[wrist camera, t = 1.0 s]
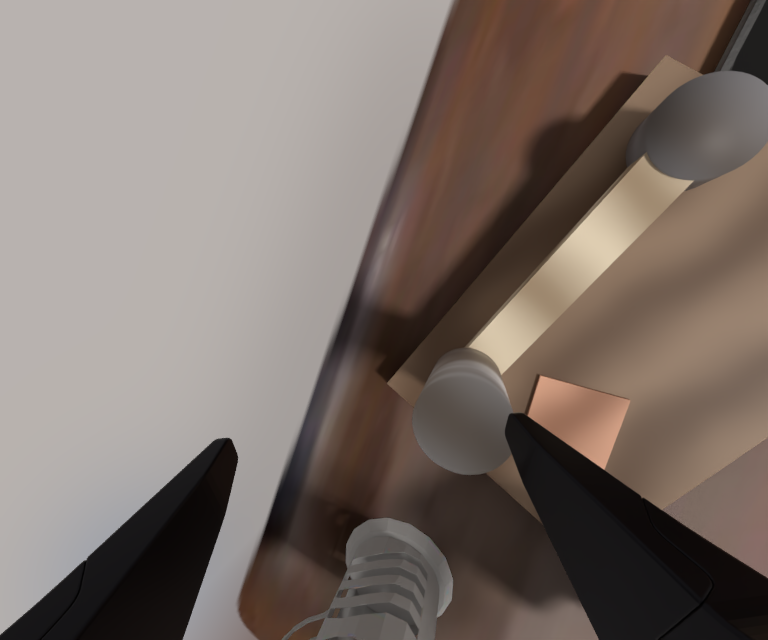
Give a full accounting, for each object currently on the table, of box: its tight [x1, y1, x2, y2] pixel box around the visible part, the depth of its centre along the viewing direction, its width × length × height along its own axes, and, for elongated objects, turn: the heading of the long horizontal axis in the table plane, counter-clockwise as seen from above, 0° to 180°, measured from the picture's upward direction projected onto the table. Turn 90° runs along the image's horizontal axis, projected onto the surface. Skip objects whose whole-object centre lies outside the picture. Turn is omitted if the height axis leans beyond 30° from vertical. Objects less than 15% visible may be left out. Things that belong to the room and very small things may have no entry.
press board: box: [387, 55, 768, 525], centre depth 17 cm, size 18×25×2 cm
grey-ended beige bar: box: [412, 71, 768, 475], centre depth 13 cm, size 20×4×8 cm, turn 142°
